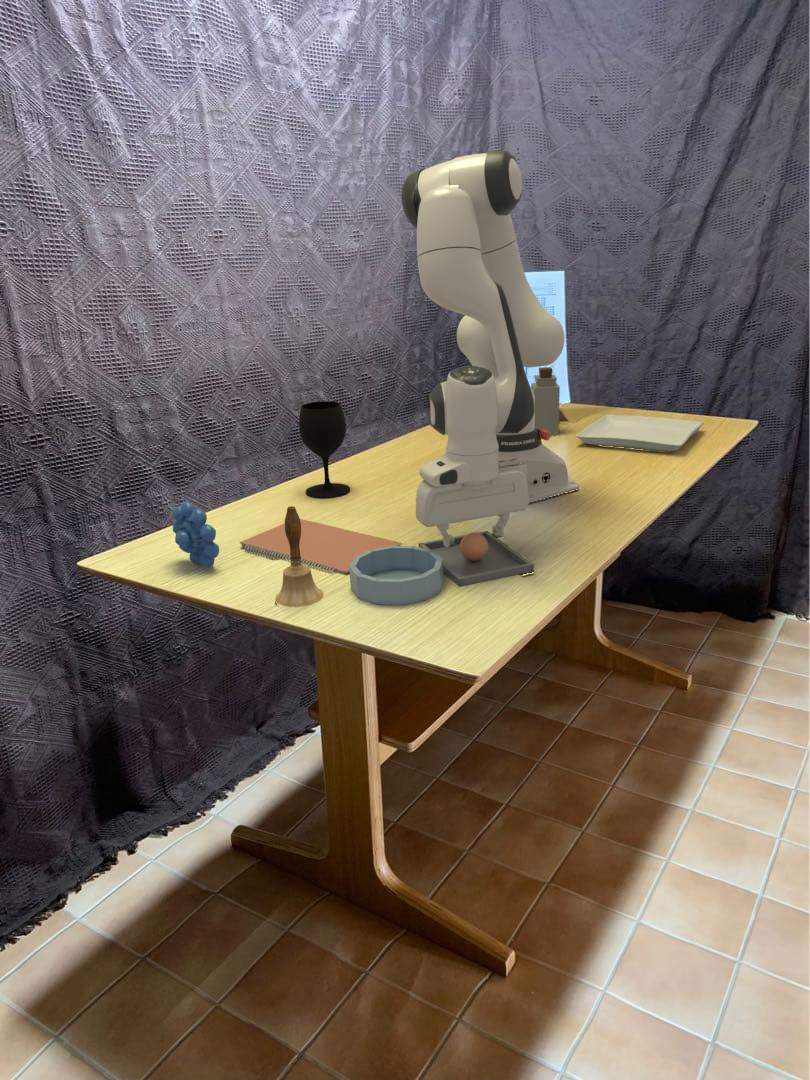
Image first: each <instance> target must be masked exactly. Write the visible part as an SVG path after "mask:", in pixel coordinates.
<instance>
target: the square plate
mask: <svg viewBox="0 0 810 1080" xmlns="http://www.w3.org/2000/svg"><path fill="white" fill-rule="evenodd" d="M703 425H704V422H702V421H693V420H687V419H685V420H684V419H676V418H669V417H668V418H666V417H657V416H646V415H645V416H642V415H628V414H627V415H624V414H623V415H622V414H620V415H619V414H604V415H603V416H601V417H599V418H598V419H597V420H595V421H593V422H592V423H591V424H589V425H588V426H586V427H585V428H584V429H582V430H580V431H579V432H578V433H577V434H575V437H576V438H577V439H578V440H579V441H581V442H582V443H584V444H588V445H594V446H597V445H602V446H613V447H624V448H634V449H643V450H650V451H649V452H653V451H661V452H660V453H663V452H662V451H668V452H670V453H672V452H676V451H679V450H680V449H681V448H682V447H683V446H684V444H685V443H686V442H687V441H688V440H689V439H690V438H692V436H694V435H695V434H696V433H697V432H698V431H699V430H700V429H701V428H702V426H703Z"/></svg>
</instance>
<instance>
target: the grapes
mask: <svg viewBox="0 0 810 1080" xmlns="http://www.w3.org/2000/svg"><path fill="white" fill-rule="evenodd" d="M207 517H208V516H207V513H206V512H205V511H203V510H202V509H200V508H196V506H195V505H194V504H192V503H191V502H189V501H183V502H182V503H181V504H180V505H177V506H175V507H174V509H173V511H172V518H173V519H174V522H173V523H172V524H173V525H172V532H173V533H174V534H175V537H174V542H175V543H176V545H178V546H179V547H178V548H179V549H180V550H181V551H183V552H184V553H187V554H189V561H191V562H192V563H193V564H195V565H196V566H203V567H206V568H213V566H214V565H215V559H216V558H218V556H219V553H220V546H219V545H218V544H217V543H216V542H214V540H216V536H217V530H216V529H215V527H213V526H212V525H210V524H207V519H208V518H207Z"/></svg>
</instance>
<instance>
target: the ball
mask: <svg viewBox="0 0 810 1080" xmlns="http://www.w3.org/2000/svg"><path fill="white" fill-rule="evenodd" d="M465 535H466V536H464V537H463V539H462V540H461V543H460V551H461V553H462V555H463V556H464V557H465V558H466V559H468V560H470V561H478V560H480V559H482V558H483V557H484V556H485V555H486V554H487V552H488V542H487V540H486V538H485V537H484V536H483V535H481V534H479V533H478V532H470V533H467V534H465Z"/></svg>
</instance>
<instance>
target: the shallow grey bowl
mask: <svg viewBox="0 0 810 1080" xmlns="http://www.w3.org/2000/svg"><path fill="white" fill-rule="evenodd" d="M349 571H350V572H349V581H350V583H349V584H350V589H351V591H352V592H353V594H354V595H355V596H356V598H357V599H359V600H363V601H365V602H369V603H371V604H376V605H387V606H404V605H408V604H409V605H410V604H414V603H419V602H423V601H426V600H428V599H430V598H432V597H434V596H435V595H436V594H438V593H440V592H441V591H442V588H443V584H444V572H443V559H442V558H441V557H440V556H439V555H438V554H436V553H435V552H434V551H432V550H428V549H424V548H420V547H419V546H415V545H400V546H388V547H382V548H377V549H371V550H368V551H366V552H364V553H362V554H360V555H358V556H356V557H354V559H353V561H352V562H351V564H350V566H349Z"/></svg>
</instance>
